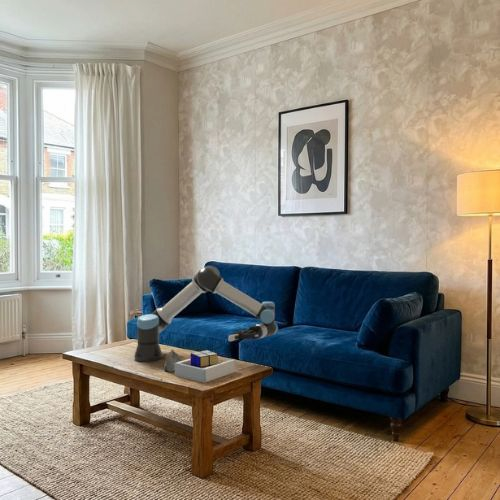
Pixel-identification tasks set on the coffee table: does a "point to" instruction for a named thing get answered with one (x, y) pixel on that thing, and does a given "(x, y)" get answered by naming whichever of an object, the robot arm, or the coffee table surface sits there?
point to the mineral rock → (171, 361)
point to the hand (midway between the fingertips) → (229, 338)
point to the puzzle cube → (204, 359)
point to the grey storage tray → (203, 370)
